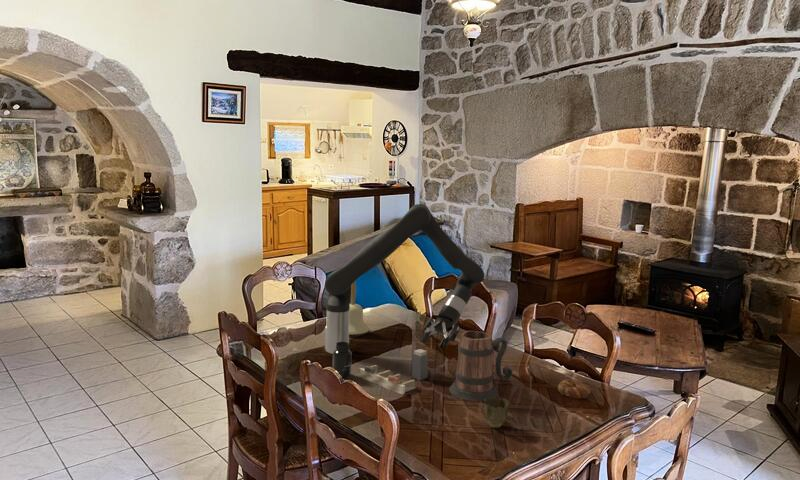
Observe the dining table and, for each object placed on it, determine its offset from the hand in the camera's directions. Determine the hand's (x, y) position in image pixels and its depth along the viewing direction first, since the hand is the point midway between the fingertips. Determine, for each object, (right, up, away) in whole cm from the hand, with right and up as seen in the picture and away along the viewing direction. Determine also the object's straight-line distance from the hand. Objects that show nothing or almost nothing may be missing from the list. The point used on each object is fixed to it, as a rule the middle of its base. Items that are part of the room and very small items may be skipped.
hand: (431, 345), depth 217 cm
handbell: (-33, -3, +49) cm, 59 cm away
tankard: (+17, -13, -12) cm, 25 cm away
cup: (+17, -17, -40) cm, 47 cm away
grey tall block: (-4, -11, -3) cm, 12 cm away
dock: (-16, -12, -9) cm, 21 cm away
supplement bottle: (-33, -10, -3) cm, 34 cm away
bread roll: (+48, -14, -13) cm, 52 cm away
